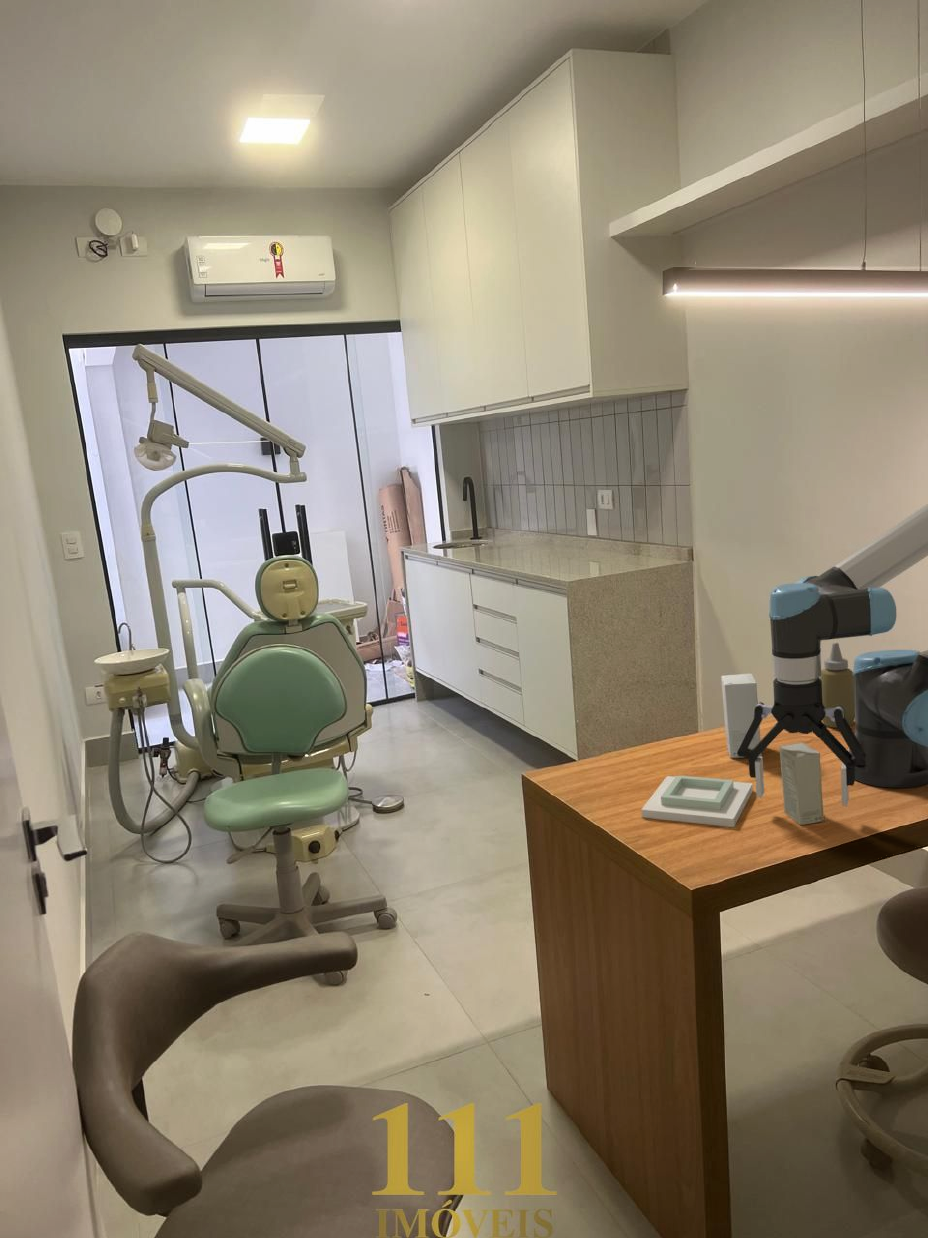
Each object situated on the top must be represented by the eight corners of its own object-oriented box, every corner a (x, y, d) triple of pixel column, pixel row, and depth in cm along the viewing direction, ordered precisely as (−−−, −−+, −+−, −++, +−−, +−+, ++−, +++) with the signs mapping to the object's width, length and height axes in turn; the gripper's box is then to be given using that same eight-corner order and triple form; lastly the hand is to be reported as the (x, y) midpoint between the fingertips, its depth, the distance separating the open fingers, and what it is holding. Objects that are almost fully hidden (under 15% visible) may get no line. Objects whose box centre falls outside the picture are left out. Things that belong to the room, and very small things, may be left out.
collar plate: (753, 791, 165) (752, 775, 164) (733, 827, 151) (732, 810, 151) (667, 783, 173) (666, 768, 172) (641, 817, 159) (640, 801, 159)
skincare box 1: (761, 758, 180) (758, 683, 177) (727, 759, 182) (723, 685, 179) (757, 743, 188) (753, 672, 185) (724, 745, 190) (720, 673, 187)
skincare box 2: (824, 822, 150) (822, 753, 147) (799, 826, 149) (796, 757, 147) (806, 807, 156) (803, 741, 153) (781, 811, 155) (778, 745, 153)
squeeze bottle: (826, 732, 190) (823, 650, 187) (812, 720, 198) (809, 641, 195) (865, 728, 190) (862, 645, 187) (848, 716, 198) (846, 637, 194)
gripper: (882, 673, 145) (884, 797, 149) (725, 670, 157) (732, 784, 161) (878, 687, 138) (881, 815, 142) (715, 682, 151) (722, 800, 155)
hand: (802, 799), depth 152 cm, fingers open, 13 cm apart
